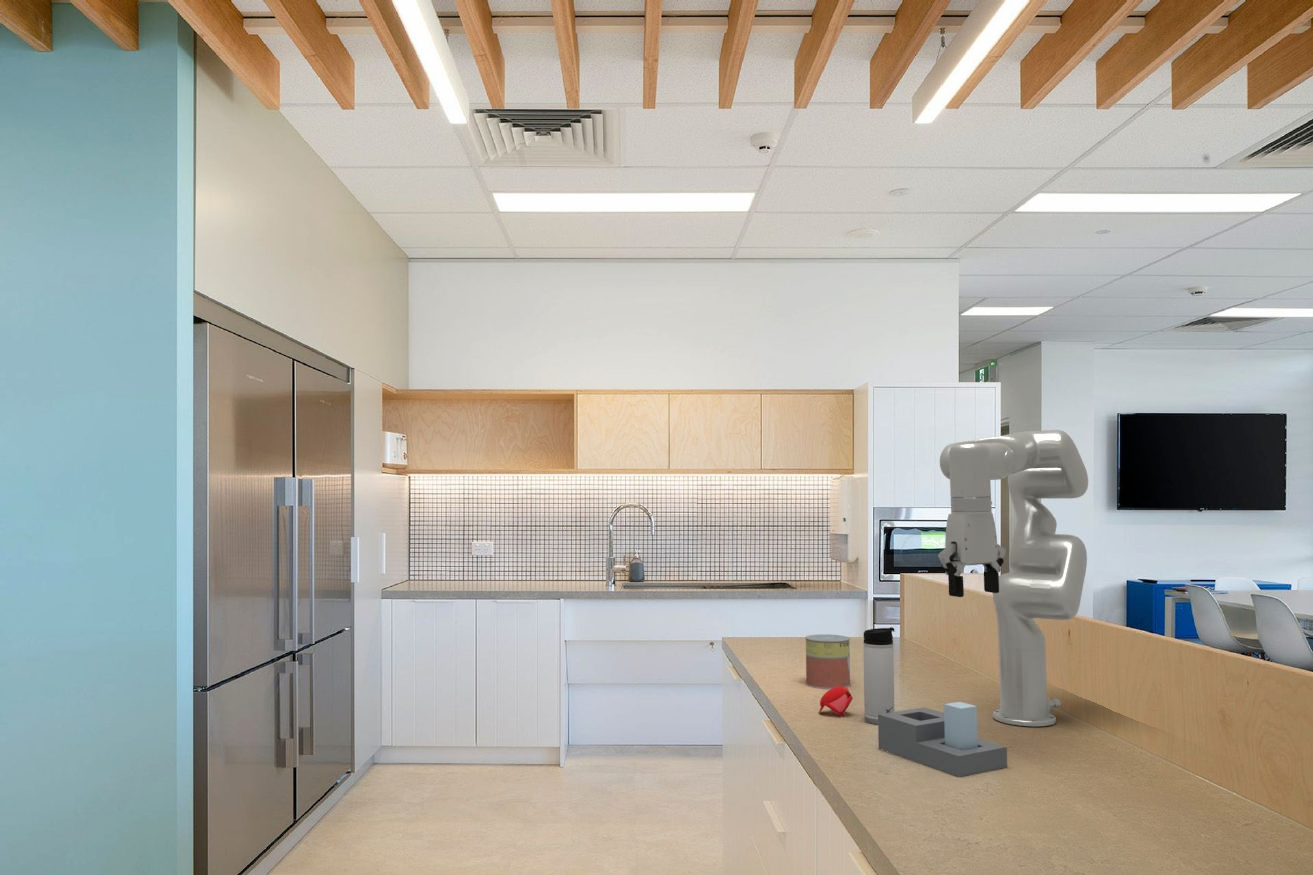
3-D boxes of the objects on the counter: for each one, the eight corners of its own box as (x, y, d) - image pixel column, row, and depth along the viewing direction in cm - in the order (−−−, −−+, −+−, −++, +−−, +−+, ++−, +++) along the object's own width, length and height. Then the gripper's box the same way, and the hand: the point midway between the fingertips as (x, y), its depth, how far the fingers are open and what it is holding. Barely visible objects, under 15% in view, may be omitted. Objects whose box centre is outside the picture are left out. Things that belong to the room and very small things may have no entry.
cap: (854, 696, 204) (831, 681, 206) (857, 692, 199) (833, 677, 200) (836, 726, 202) (813, 711, 204) (839, 724, 196) (815, 708, 198)
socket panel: (924, 740, 179) (924, 707, 179) (1007, 766, 161) (1006, 729, 161) (878, 748, 173) (878, 714, 173) (958, 776, 155) (957, 738, 156)
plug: (958, 756, 166) (957, 701, 167) (978, 762, 162) (976, 706, 163) (942, 759, 164) (941, 703, 165) (962, 765, 160) (960, 708, 161)
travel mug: (897, 725, 190) (895, 629, 192) (865, 724, 192) (863, 629, 193) (895, 718, 196) (893, 625, 198) (864, 717, 198) (862, 625, 199)
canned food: (854, 689, 227) (853, 641, 228) (809, 689, 227) (809, 641, 228) (845, 680, 238) (845, 634, 239) (802, 680, 238) (802, 634, 239)
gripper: (986, 504, 184) (989, 588, 183) (924, 507, 176) (927, 595, 175) (1017, 505, 178) (1020, 592, 177) (953, 508, 169) (957, 600, 169)
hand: (974, 594), depth 176 cm, fingers open, 9 cm apart
